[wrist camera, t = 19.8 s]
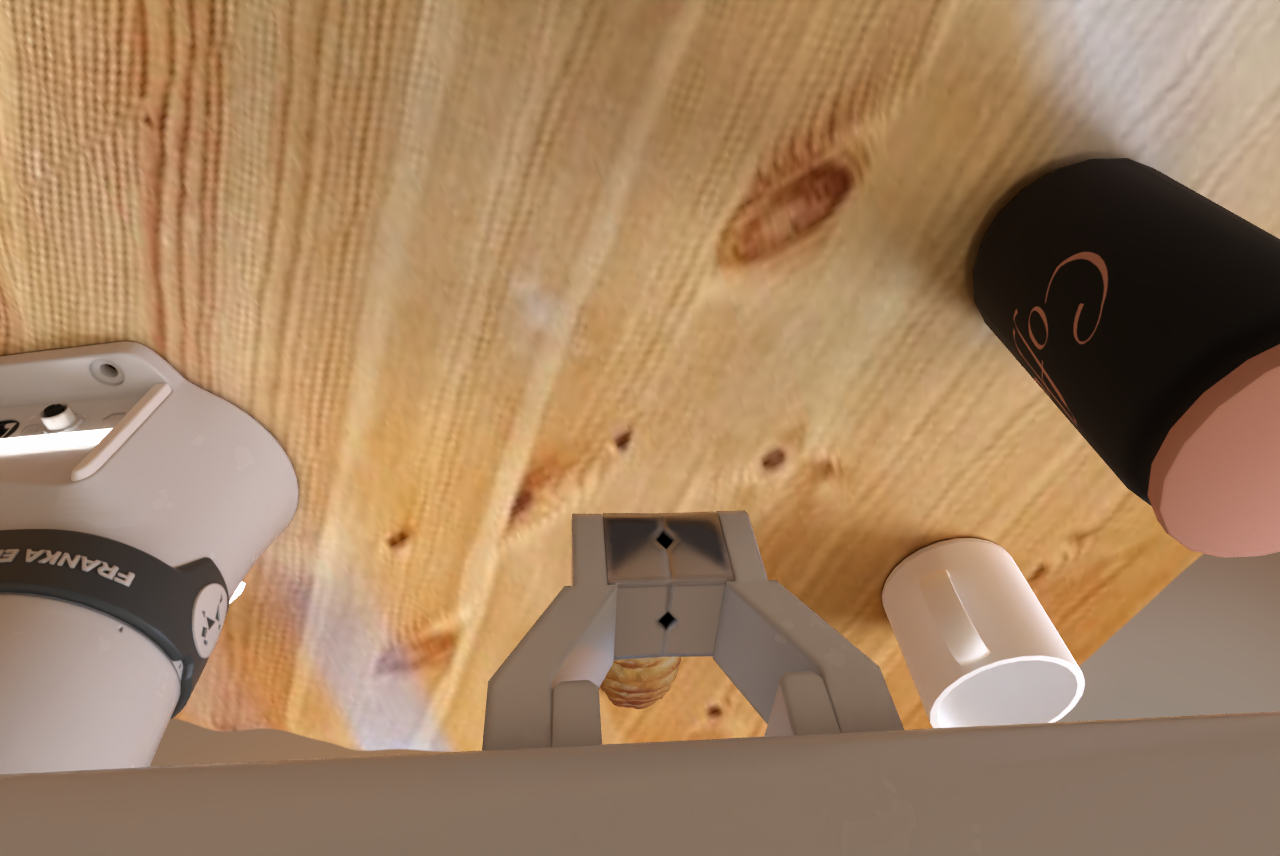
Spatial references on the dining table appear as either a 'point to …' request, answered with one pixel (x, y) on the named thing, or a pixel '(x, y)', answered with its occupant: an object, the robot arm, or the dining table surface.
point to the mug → (978, 638)
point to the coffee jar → (1150, 340)
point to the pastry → (640, 680)
